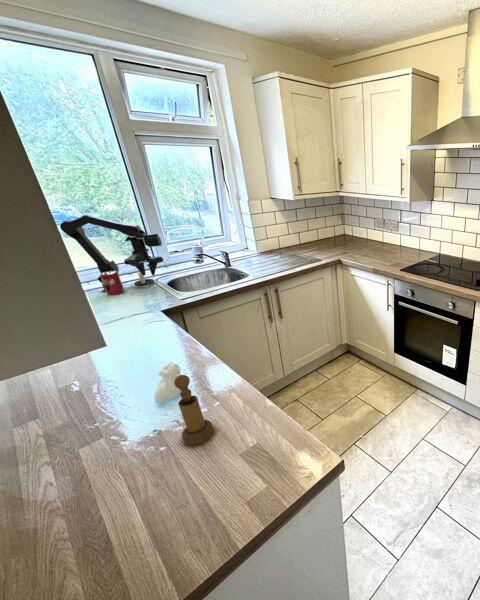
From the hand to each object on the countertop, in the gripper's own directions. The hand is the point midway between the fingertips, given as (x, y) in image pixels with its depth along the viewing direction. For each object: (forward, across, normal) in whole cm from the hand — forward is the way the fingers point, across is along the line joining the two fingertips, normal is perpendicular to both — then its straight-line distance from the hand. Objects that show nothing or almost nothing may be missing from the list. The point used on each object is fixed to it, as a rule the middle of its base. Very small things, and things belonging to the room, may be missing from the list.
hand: (149, 275), depth 184 cm
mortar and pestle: (+10, +98, -106) cm, 145 cm away
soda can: (+6, -9, -14) cm, 18 cm away
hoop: (+4, -4, 0) cm, 6 cm away
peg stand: (+6, -5, 0) cm, 8 cm away
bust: (+10, +80, -91) cm, 122 cm away
